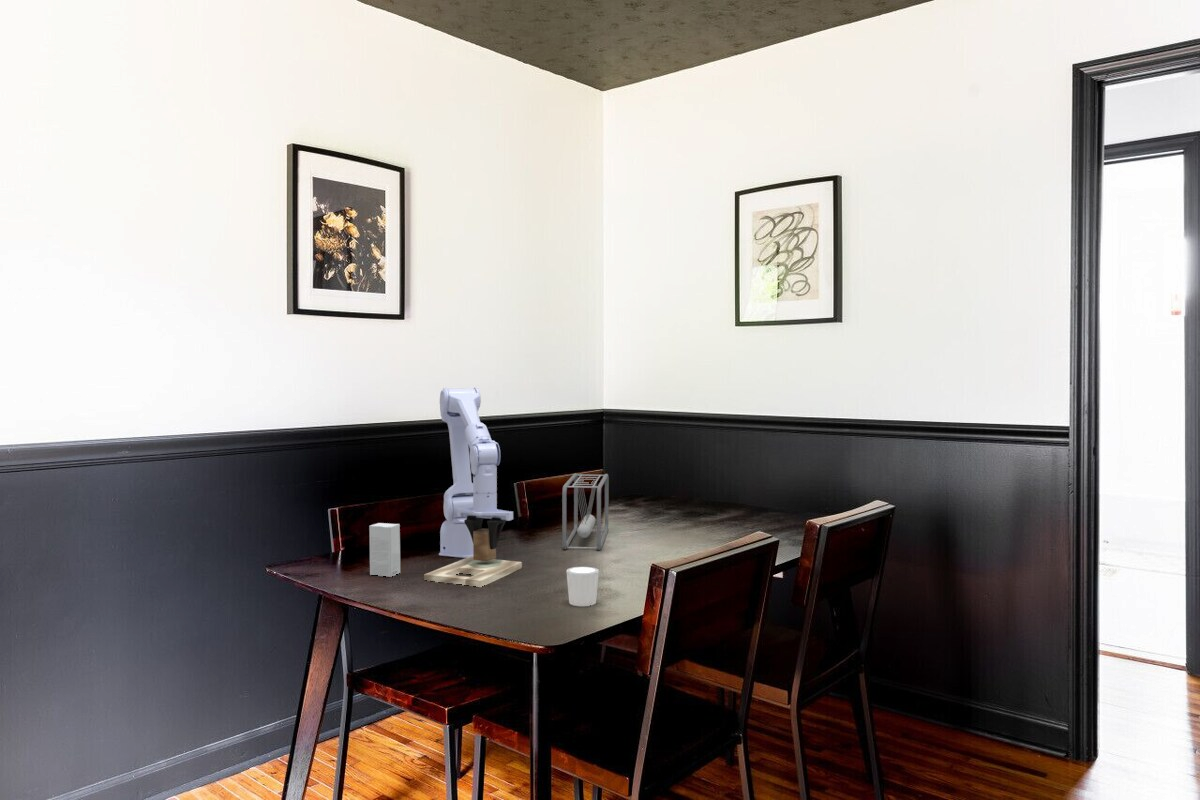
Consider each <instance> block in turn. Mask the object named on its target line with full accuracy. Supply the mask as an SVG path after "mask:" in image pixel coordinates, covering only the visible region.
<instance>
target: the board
mask: <svg viewBox="0 0 1200 800" xmlns="http://www.w3.org/2000/svg"><path fill="white" fill-rule="evenodd" d="M521 569H523V562H522V561H517V560H516V561H515V560H504V559H497V558H495V559H492V560H490V561H479V560H473V557H467V558H462V559H460V560H458V561H455V562H453V563H452V562H451V563H449V564H447V565H444V566H442V567H439V568H437V569H435V570H433V571H432V570H431V571H430V572H427V573H425V574H424V575H423V578H424V580H427V581H426V582H430V581H435V582H434V583H438V582H444V583H443V584H447V583H453V584H452V585H456V584H462V585H461V586H464V585H469V586H468V587H473V586H476V587H477V588H483V587H484V585H485V586H486V585H489V584H491V583H494V582H496V581H498V580H500V579H502V578H504V577H506V576H508V575H510V574H513V573H514V572H517V571H518V570H521ZM459 573H463V574H462V575H460V574H459ZM456 574H458V575H456ZM466 574H471V575H470V576H463V575H466ZM482 586H483V587H482ZM476 587H475V588H476Z"/></svg>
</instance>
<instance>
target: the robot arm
mask: <svg viewBox="0 0 1200 800" xmlns="http://www.w3.org/2000/svg"><path fill="white" fill-rule="evenodd" d="M481 396H482V395H481V392H480V390H479V389H478V388H477V387H471V388H470V387H469V388H468V387H466V388H447V387H443V388H442V389H441V391H440V394H439V408H440V409H439V410H440V412H439V413H440V417H441V421H442V422H444V423H446V424H447V427H448V433H449V444H450V446H449V447H450V457H451V467H452V468H451V469H452V470H451V471H452V479H453V485H451V486H450V487H448V489H447V490H445V492H444V494H443V515H444V517H445V520H444V521H443V522H442V524H441V527H440V531H439V534H440V535H439V536H440V541H439V545H440V548H439V549H440V551H439V553H438V556H443V557H454V558H462V559H465V558H467V557H473V531H476V530H479V529H482V527H483V521H484V519H489V520H487V521H486V523H487V529H489V537H490V538H489V542H490V549H495V548H496V549H497V546H498V541H499V539H500V535H501V533H502V530H503V528H504V526H505V524H506V521H507V522H510V521H512V520H514V511H511V510H510V511H509V510H503V509H498V508H497V507H498V505H497V504H498V500H497V499H498V493H497V491H498V487H497V485H498V483H497V481H498V480H497V479H498V475H497V474H498V472H497V471H498V470H497V469H498V467H497V466H499V465H500V463H501V449H500V448H501V447H500V445H499V442H496V441H495V440H492V438H491V434H490V432H489V430H488V427H487V425H486V424H484V423H483V422H481V420H480V415H479V410H480V407H481V403H482V402H481V401H482V400H481V399H482V398H481ZM472 481H473V482H472Z"/></svg>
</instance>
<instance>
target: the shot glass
mask: <svg viewBox="0 0 1200 800" xmlns="http://www.w3.org/2000/svg"><path fill="white" fill-rule="evenodd" d="M599 573H600V569H598V568H596V567H594V566H573V567H569V568H567V569H566V582H567V591H568V592H567V593H568V604H569V605H571V606H575V607H590V605H591V606H594V605H595V604H596V603H597V598H598V597H597V596H598V595H597V594H598V585H599Z"/></svg>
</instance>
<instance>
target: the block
mask: <svg viewBox="0 0 1200 800" xmlns="http://www.w3.org/2000/svg"><path fill="white" fill-rule="evenodd" d="M489 538H490V537H489V529H488V528H481V529H479V530H476V531H473V560H479V561H490V560H492V559H497V547H496V548H495V549H490V542H489Z"/></svg>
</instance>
